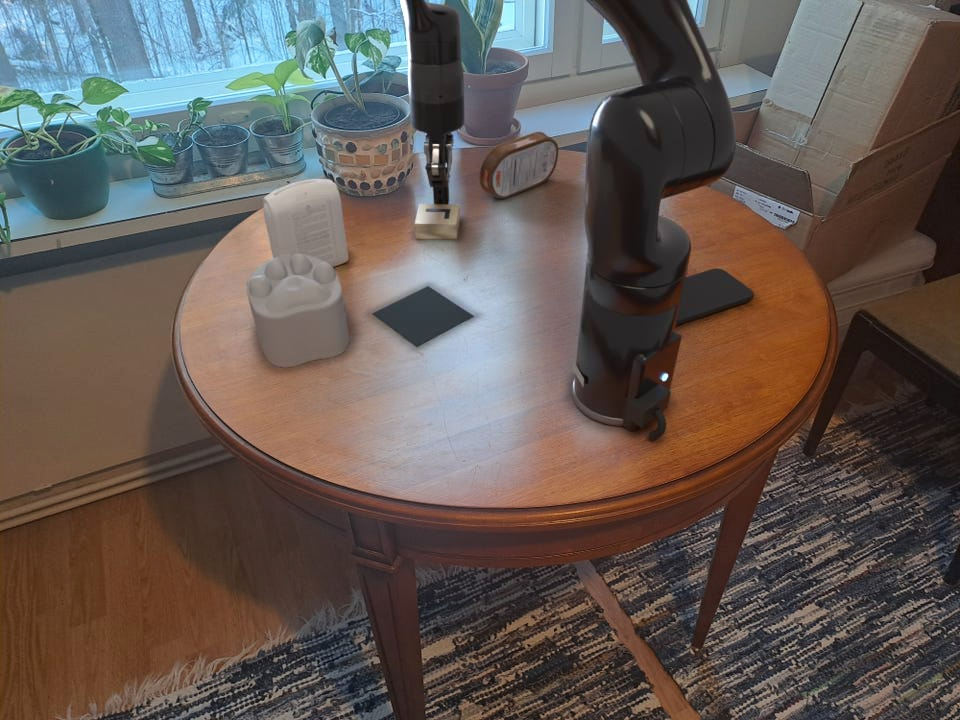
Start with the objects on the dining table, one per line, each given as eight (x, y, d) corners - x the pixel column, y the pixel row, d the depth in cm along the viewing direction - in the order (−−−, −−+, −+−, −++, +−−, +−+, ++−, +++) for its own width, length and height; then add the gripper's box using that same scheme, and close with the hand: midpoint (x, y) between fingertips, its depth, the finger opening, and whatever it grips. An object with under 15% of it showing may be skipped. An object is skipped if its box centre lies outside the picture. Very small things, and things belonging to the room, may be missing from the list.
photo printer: (341, 249, 101) (328, 167, 93) (354, 262, 98) (342, 179, 90) (272, 271, 97) (252, 187, 89) (284, 285, 94) (265, 200, 86)
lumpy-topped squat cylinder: (267, 372, 80) (251, 311, 75) (252, 310, 90) (236, 251, 84) (357, 351, 83) (347, 290, 78) (333, 293, 92) (323, 234, 87)
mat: (473, 316, 88) (473, 315, 88) (416, 346, 84) (416, 346, 84) (428, 286, 93) (428, 285, 93) (372, 313, 89) (372, 313, 89)
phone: (625, 295, 90) (719, 266, 95) (624, 300, 91) (718, 271, 95) (660, 327, 85) (758, 294, 90) (659, 332, 85) (756, 299, 90)
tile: (459, 219, 107) (459, 203, 106) (456, 239, 103) (456, 223, 101) (420, 218, 108) (419, 203, 106) (415, 238, 103) (414, 222, 101)
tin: (546, 173, 119) (549, 124, 114) (560, 179, 117) (563, 130, 112) (478, 200, 112) (477, 149, 106) (490, 207, 110) (491, 156, 105)
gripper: (460, 109, 91) (463, 228, 102) (467, 74, 101) (469, 185, 112) (402, 109, 91) (411, 227, 103) (414, 73, 101) (422, 185, 113)
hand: (441, 205), depth 107 cm, fingers closed
